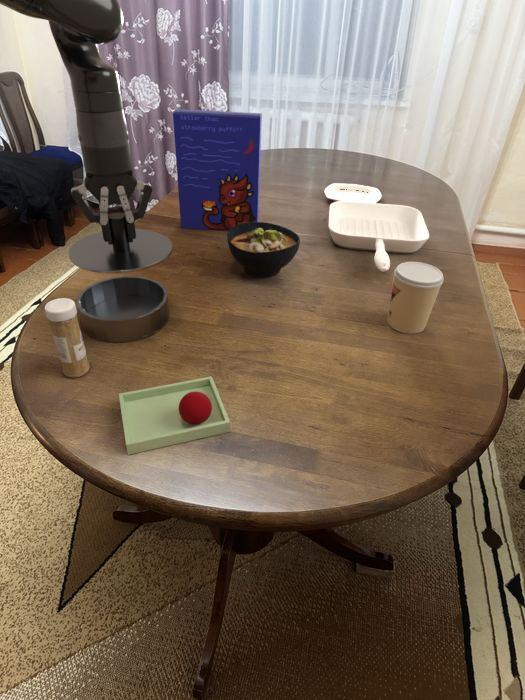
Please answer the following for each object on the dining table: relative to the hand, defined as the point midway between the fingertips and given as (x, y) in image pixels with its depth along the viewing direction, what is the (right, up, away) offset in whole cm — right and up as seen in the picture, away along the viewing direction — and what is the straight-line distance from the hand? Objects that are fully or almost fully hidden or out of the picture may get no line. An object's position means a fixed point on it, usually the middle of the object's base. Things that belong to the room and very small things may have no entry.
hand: (120, 241), depth 84 cm
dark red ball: (+16, -28, -14) cm, 35 cm away
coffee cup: (+56, -14, +13) cm, 59 cm away
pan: (+57, +9, +44) cm, 72 cm away
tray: (+12, -30, -11) cm, 35 cm away
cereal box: (+14, +16, +51) cm, 55 cm away
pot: (-2, -13, +11) cm, 17 cm away
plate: (+57, +32, +75) cm, 99 cm away
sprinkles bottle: (-7, -23, -3) cm, 24 cm away
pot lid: (0, -1, +1) cm, 2 cm away
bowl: (+26, 0, +30) cm, 40 cm away
